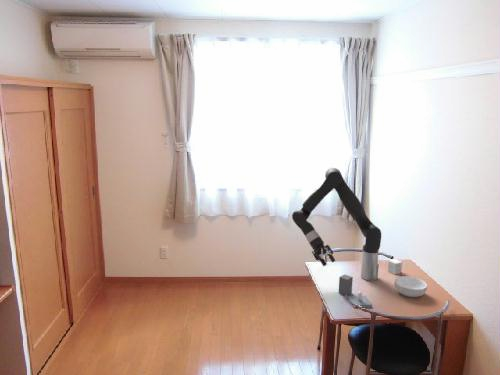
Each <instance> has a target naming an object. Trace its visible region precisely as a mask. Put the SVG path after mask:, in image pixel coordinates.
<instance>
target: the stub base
mask: <svg viewBox="0 0 500 375" xmlns="http://www.w3.org/2000/svg"><path fill="white" fill-rule="evenodd" d="M346 300H348V302H349V304H350V305H351V306H352V303H355V304H357V305H360V306H362V307H361V308H373V303H372V302H371V301H370V300H369V298H368V297H367V296H366V295H363V291H358V292H357V295H347V296H346ZM352 308H355V307H354V306H352ZM355 309H356V308H355Z"/></svg>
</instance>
